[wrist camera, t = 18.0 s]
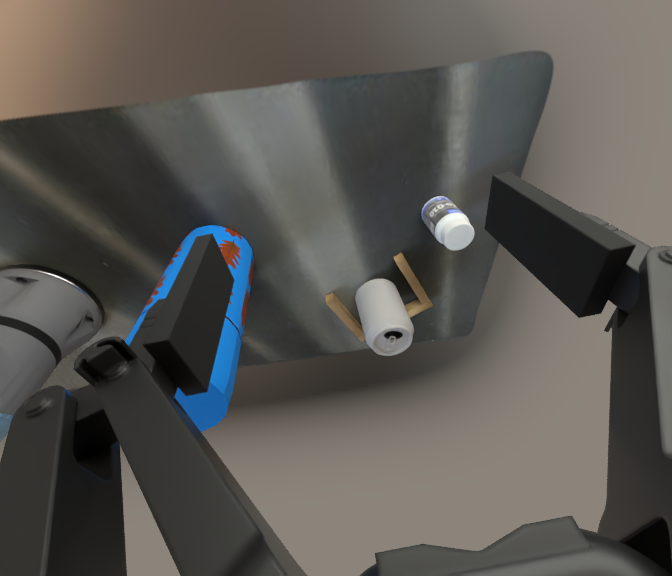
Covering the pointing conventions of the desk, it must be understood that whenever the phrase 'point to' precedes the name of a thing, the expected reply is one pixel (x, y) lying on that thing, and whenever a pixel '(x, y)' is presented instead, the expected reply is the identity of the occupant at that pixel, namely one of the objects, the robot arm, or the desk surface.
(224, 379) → the thermos
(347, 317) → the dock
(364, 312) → the can
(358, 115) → the desk surface
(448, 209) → the pill bottle
